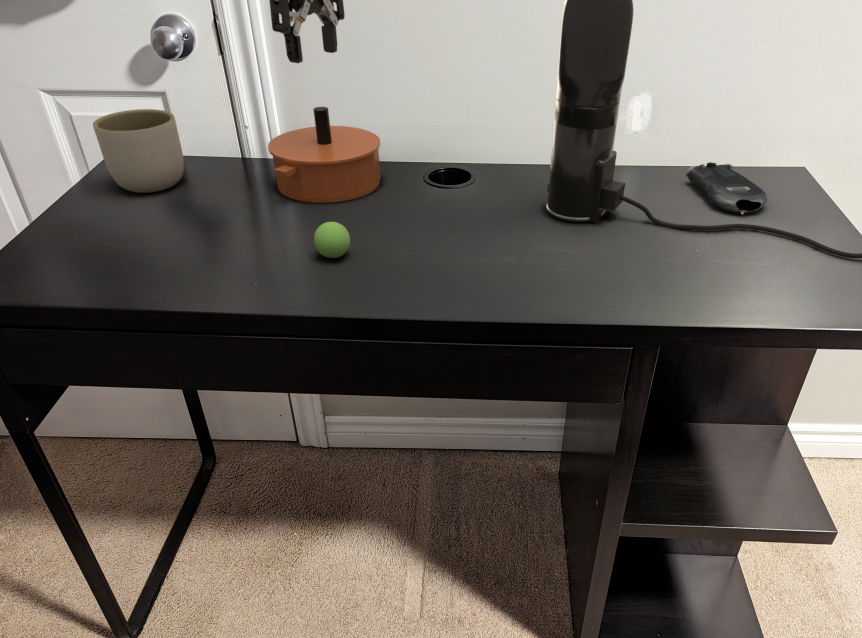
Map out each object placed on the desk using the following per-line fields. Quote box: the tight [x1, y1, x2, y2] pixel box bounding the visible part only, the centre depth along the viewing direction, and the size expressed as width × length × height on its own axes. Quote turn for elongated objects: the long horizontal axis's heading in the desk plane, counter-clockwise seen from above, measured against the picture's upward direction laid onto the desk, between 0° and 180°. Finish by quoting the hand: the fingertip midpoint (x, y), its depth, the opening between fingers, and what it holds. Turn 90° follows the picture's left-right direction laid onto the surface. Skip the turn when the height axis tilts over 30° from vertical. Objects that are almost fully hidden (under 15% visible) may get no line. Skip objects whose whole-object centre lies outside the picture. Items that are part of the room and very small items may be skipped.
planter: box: [92, 108, 185, 194], centre depth 115 cm, size 12×12×11 cm
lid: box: [267, 106, 381, 165], centre depth 113 cm, size 19×19×7 cm
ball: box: [313, 221, 351, 259], centre depth 95 cm, size 5×5×5 cm
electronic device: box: [685, 162, 768, 215], centre depth 114 cm, size 9×6×15 cm
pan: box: [272, 148, 381, 204], centre depth 117 cm, size 18×23×6 cm
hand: (313, 57), depth 107 cm, fingers open, 8 cm apart
